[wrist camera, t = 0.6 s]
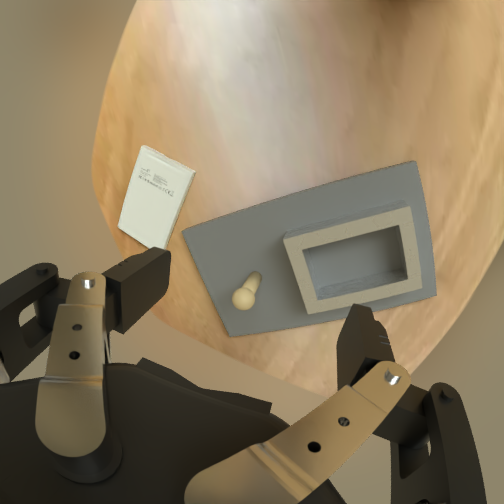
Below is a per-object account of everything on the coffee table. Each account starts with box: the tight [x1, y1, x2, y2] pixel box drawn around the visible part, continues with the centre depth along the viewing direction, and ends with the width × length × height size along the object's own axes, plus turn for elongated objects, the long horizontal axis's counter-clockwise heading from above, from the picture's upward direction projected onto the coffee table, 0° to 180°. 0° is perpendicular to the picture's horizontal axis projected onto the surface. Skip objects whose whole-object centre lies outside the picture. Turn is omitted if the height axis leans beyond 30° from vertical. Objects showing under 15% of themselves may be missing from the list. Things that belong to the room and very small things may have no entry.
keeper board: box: [182, 161, 437, 337], centre depth 29 cm, size 28×16×7 cm, turn 111°
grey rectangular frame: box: [283, 200, 422, 314], centre depth 28 cm, size 13×9×3 cm
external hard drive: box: [118, 145, 196, 250], centre depth 35 cm, size 2×8×12 cm
